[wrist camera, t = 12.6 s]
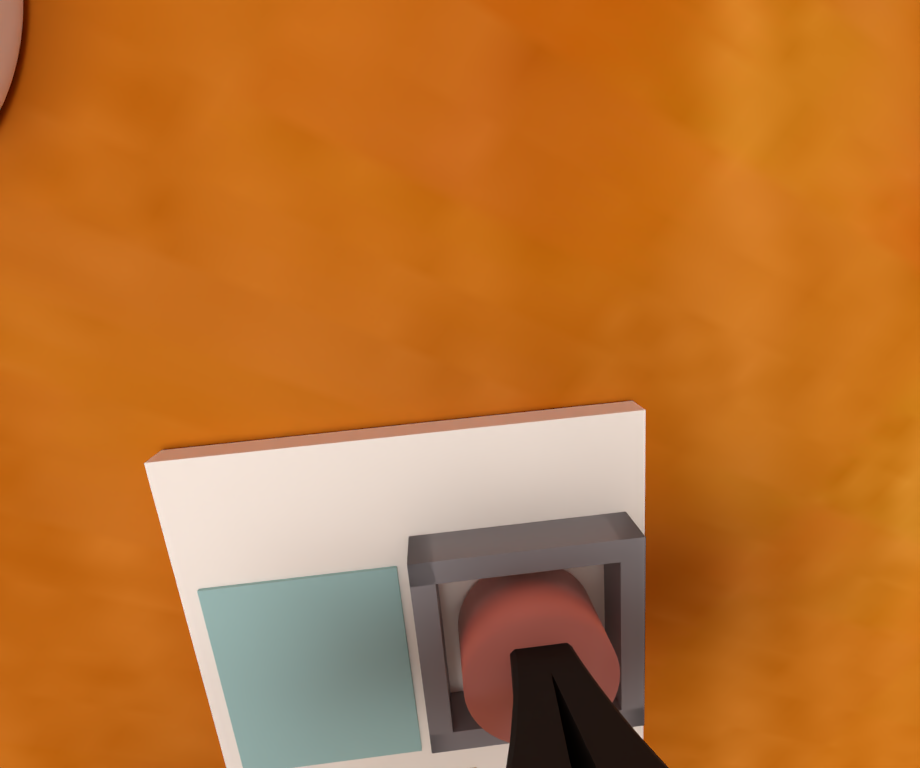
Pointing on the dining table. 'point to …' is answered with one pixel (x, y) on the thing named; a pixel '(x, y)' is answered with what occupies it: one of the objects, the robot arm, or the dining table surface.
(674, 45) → the dining table surface
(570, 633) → the button
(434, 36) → the dining table surface
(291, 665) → the white board with squares
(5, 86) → the eye dropper bottle
